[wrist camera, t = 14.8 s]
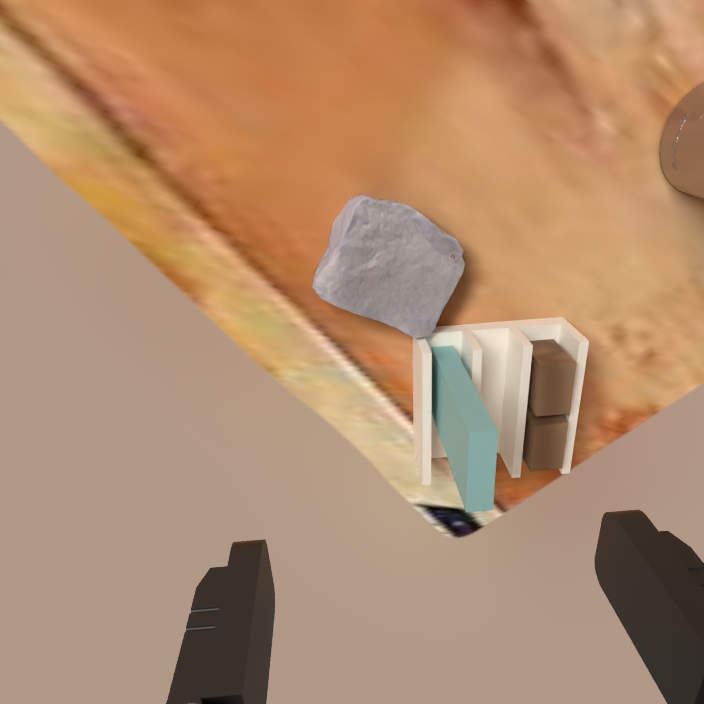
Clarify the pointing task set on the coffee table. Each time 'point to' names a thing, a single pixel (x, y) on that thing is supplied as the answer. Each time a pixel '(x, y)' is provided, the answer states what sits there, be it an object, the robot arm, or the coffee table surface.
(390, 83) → the coffee table surface
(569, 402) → the offcut
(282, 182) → the coffee table surface
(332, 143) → the coffee table surface
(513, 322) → the rack
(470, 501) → the sheet
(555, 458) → the offcut
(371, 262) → the stone block
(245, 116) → the coffee table surface
